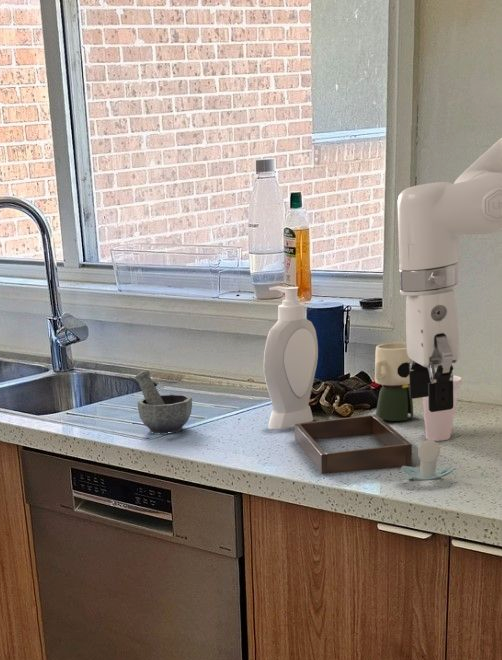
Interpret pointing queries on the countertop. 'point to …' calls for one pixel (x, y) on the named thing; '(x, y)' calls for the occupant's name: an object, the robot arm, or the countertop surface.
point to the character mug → (393, 381)
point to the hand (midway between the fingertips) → (431, 403)
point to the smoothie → (441, 416)
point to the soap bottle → (290, 363)
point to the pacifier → (427, 464)
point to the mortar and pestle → (162, 407)
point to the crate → (384, 457)
